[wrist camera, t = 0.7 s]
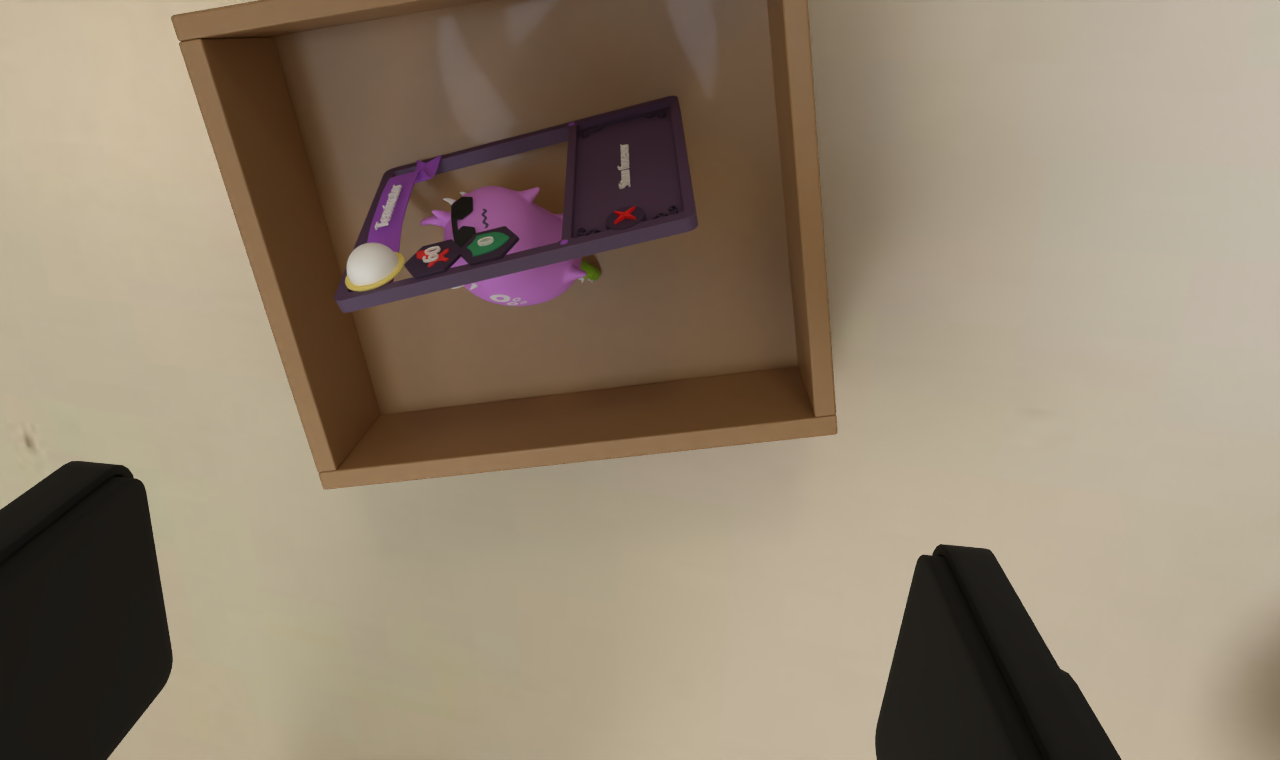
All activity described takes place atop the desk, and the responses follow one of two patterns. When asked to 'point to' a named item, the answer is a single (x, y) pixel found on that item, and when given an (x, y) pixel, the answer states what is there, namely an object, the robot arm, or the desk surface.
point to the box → (514, 105)
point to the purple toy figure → (531, 214)
